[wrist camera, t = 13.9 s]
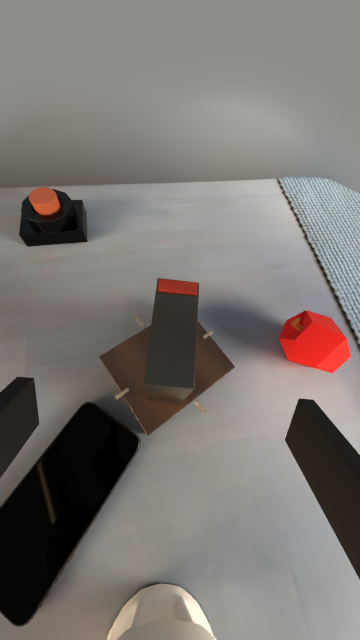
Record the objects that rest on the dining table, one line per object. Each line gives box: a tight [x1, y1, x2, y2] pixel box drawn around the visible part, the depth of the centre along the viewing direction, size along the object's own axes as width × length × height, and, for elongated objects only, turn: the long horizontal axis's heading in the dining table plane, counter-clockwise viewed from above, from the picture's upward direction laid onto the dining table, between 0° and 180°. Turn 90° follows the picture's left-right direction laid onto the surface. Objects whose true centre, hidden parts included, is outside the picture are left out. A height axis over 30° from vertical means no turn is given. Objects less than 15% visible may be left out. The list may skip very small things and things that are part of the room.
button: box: [29, 187, 61, 216], centre depth 30 cm, size 3×3×2 cm
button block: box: [19, 189, 87, 246], centre depth 33 cm, size 8×6×4 cm
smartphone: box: [0, 402, 140, 627], centre depth 21 cm, size 7×1×15 cm
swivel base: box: [99, 317, 235, 435], centre depth 26 cm, size 12×12×3 cm
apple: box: [279, 311, 351, 373], centre depth 27 cm, size 7×7×8 cm
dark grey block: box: [144, 278, 199, 404], centre depth 20 cm, size 8×3×9 cm, turn 176°
